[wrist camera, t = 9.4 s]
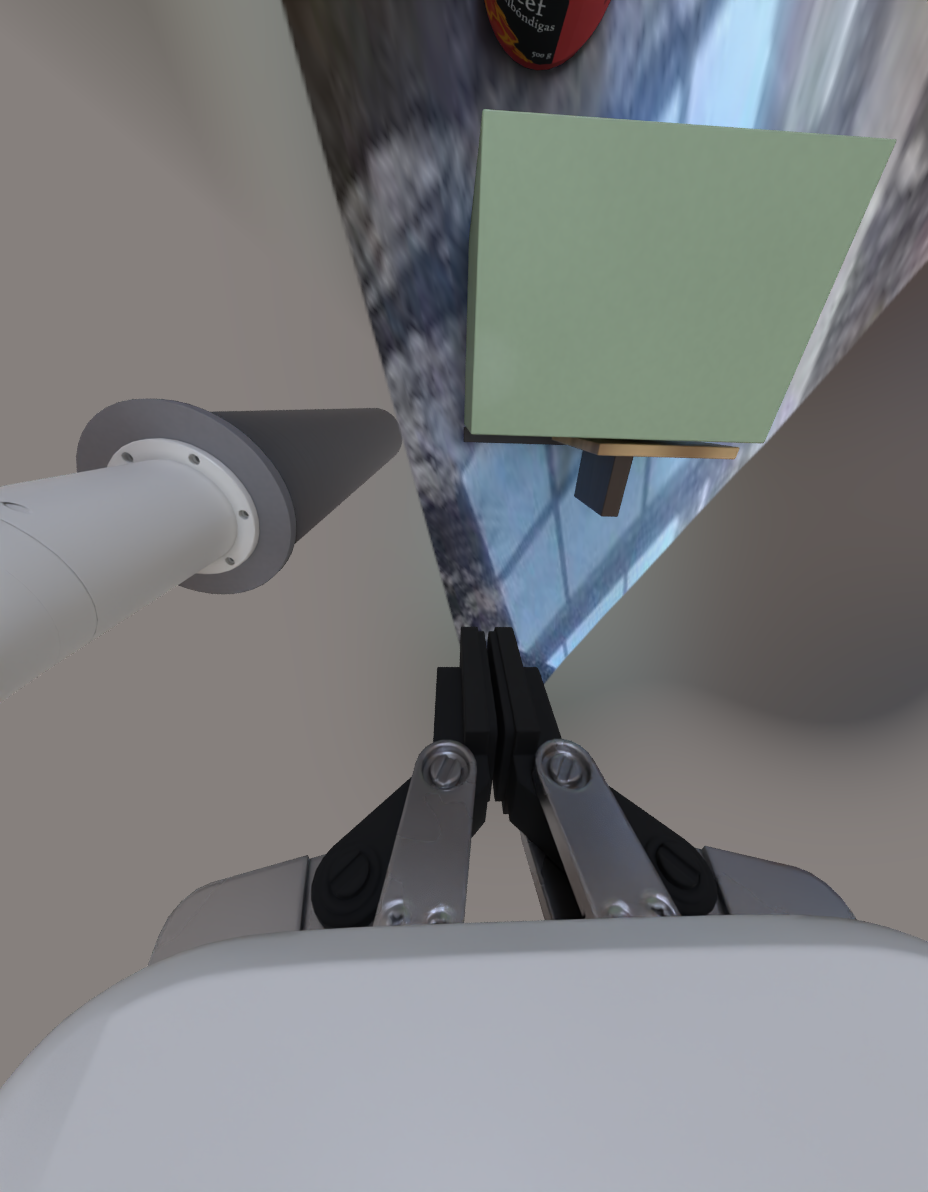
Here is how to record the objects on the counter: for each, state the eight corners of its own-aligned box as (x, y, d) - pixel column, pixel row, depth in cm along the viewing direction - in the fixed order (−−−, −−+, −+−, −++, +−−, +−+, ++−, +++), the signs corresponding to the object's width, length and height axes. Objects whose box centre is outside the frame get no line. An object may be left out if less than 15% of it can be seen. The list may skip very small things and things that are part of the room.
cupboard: (463, 441, 31) (469, 460, 20) (469, 237, 24) (482, 107, 13) (653, 447, 31) (753, 467, 21) (710, 251, 25) (898, 138, 14)
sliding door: (544, 485, 32) (584, 518, 23) (552, 431, 30) (600, 443, 20) (634, 487, 33) (710, 520, 23) (649, 434, 30) (740, 447, 21)
